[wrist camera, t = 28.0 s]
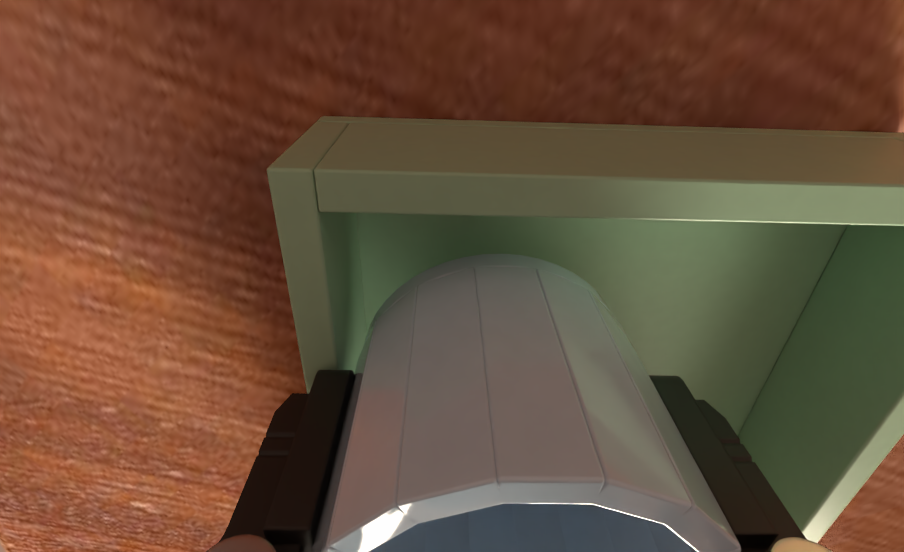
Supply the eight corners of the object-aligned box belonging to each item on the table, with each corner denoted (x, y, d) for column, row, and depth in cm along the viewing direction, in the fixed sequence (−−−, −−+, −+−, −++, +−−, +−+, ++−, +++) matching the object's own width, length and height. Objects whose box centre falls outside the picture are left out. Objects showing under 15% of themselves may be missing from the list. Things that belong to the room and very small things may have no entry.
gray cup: (370, 447, 13) (329, 696, 8) (353, 248, 10) (268, 477, 5) (592, 449, 13) (672, 695, 9) (647, 255, 10) (827, 482, 5)
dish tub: (365, 514, 20) (348, 625, 16) (321, 114, 11) (264, 168, 8) (699, 516, 20) (753, 625, 17) (902, 131, 12) (1100, 190, 8)
